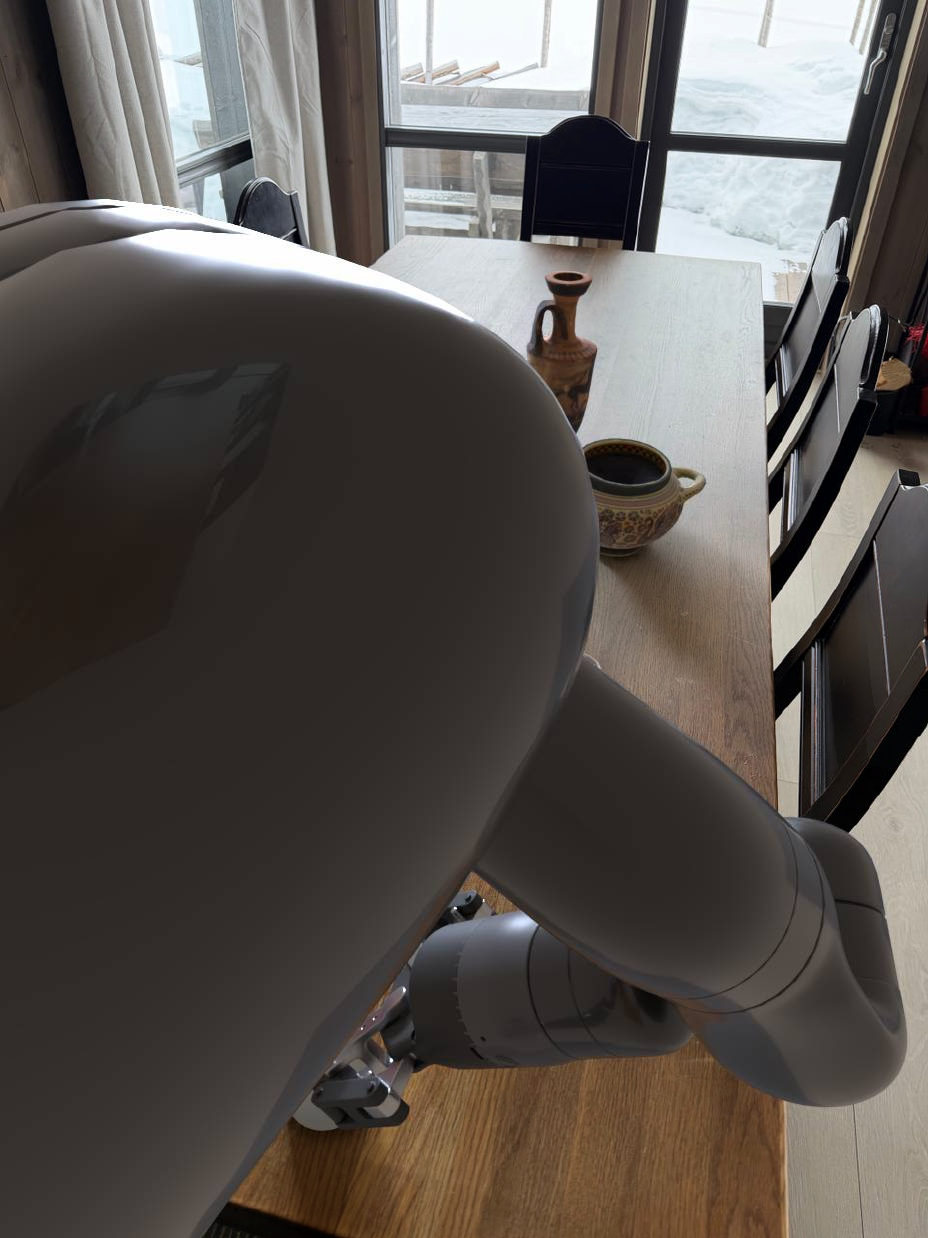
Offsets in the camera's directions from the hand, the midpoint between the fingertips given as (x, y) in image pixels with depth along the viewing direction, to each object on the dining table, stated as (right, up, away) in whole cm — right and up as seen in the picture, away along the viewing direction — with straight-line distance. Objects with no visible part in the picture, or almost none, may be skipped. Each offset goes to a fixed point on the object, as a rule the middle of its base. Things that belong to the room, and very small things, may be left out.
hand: (342, 1009), depth 56 cm
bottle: (-2, -10, +9) cm, 14 cm away
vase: (+23, +52, +88) cm, 104 cm away
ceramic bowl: (+29, +37, +69) cm, 84 cm away
